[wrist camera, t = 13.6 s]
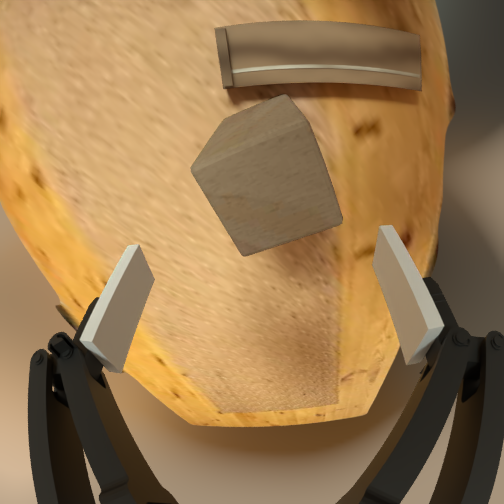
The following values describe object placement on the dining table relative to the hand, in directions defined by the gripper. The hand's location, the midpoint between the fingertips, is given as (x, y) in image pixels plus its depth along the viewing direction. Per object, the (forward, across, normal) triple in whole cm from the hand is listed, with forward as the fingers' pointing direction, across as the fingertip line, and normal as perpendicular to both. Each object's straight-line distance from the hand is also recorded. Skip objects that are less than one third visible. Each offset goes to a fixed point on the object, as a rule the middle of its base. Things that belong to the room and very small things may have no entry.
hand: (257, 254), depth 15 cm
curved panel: (+29, +10, +11) cm, 32 cm away
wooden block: (+29, +1, -1) cm, 29 cm away
